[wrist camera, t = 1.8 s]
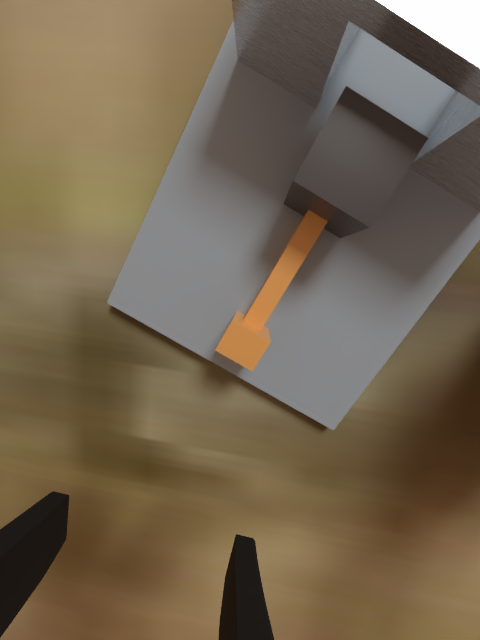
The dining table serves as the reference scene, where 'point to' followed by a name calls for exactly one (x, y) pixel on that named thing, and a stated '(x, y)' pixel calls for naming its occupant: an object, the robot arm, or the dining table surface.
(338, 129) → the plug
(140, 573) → the dining table surface
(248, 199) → the board
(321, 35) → the grey arch block
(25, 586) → the robot arm
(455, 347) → the dining table surface
